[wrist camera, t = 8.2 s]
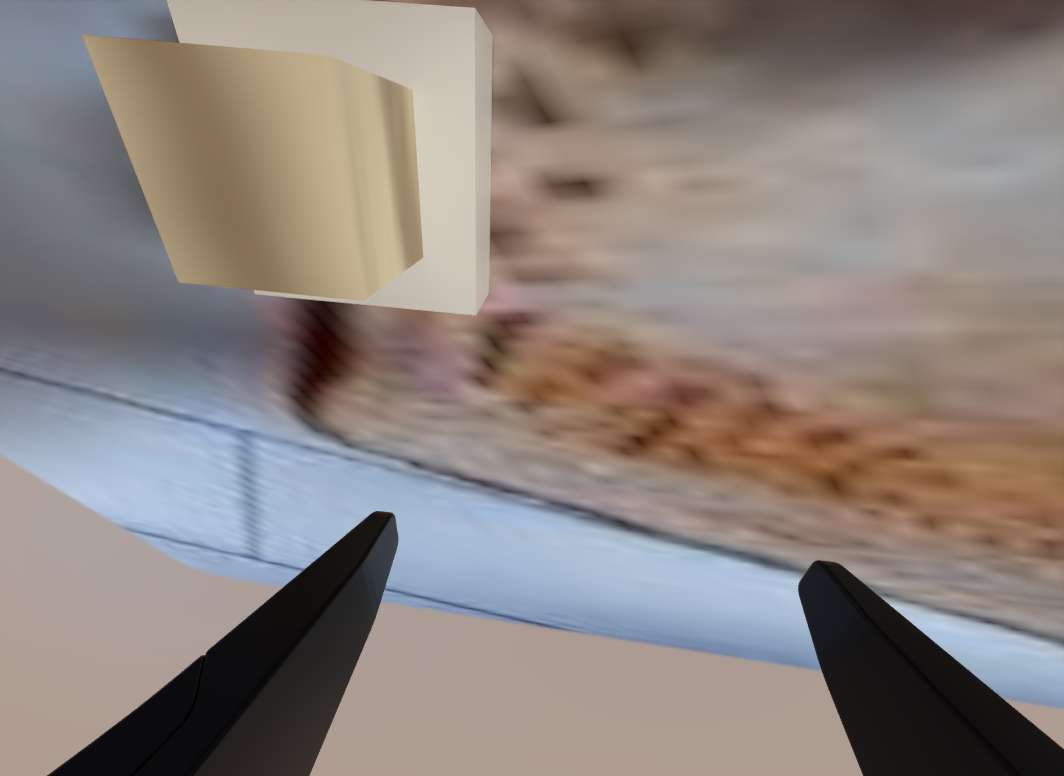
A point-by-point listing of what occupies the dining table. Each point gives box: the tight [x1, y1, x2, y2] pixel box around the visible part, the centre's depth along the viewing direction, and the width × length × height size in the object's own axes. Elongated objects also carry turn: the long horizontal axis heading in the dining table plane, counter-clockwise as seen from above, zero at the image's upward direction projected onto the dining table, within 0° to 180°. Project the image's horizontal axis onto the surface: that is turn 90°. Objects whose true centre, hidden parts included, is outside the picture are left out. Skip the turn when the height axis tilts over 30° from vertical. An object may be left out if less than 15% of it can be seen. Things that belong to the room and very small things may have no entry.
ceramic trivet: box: [167, 0, 493, 315], centre depth 15 cm, size 9×9×3 cm
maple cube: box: [82, 35, 423, 301], centre depth 11 cm, size 5×5×5 cm
